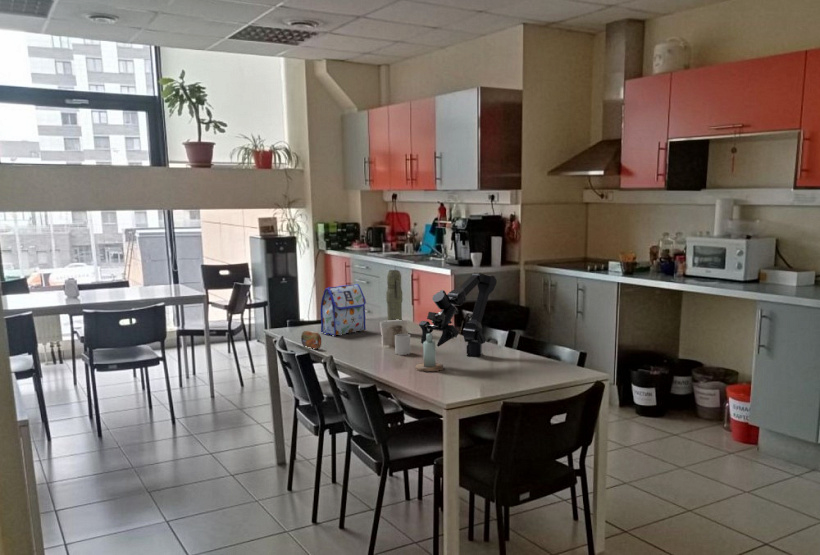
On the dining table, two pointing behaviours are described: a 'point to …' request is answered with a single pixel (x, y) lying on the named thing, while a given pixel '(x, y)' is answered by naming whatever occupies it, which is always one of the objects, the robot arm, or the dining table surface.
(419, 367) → the tan flat disc
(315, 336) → the tin
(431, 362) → the ceramic bottle
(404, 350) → the cup
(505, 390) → the dining table surface
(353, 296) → the lunch bag
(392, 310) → the thermos
